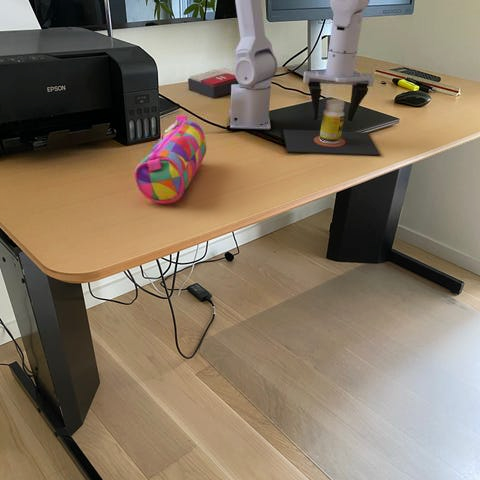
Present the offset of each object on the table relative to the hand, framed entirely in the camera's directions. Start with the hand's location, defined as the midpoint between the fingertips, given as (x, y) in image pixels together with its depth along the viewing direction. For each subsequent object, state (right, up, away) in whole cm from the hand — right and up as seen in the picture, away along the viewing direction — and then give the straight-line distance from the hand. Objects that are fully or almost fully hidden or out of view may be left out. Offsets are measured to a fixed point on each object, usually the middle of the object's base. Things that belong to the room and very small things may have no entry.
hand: (332, 119), depth 111 cm
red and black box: (-26, +22, +35) cm, 49 cm away
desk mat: (0, -4, +3) cm, 5 cm away
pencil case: (-33, -18, -16) cm, 41 cm away
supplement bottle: (0, -4, +3) cm, 5 cm away
